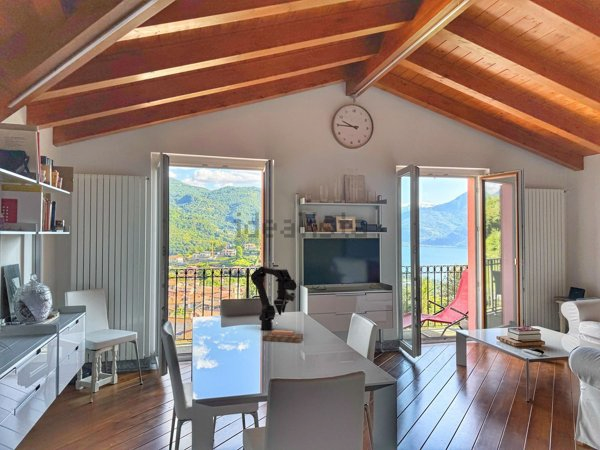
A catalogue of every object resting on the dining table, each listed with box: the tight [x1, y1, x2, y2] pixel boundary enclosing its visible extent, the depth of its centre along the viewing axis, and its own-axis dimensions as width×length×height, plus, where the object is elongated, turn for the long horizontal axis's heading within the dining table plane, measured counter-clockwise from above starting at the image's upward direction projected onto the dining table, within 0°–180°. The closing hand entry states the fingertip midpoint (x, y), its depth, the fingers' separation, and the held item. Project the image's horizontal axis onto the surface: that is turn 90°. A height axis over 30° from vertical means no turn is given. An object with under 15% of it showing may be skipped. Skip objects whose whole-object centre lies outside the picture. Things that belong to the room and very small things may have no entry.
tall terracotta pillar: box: [272, 329, 295, 336], centre depth 239 cm, size 12×3×5 cm, turn 79°
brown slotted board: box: [262, 331, 304, 344], centre depth 239 cm, size 22×10×3 cm, turn 79°
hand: (281, 313), depth 257 cm, fingers open, 9 cm apart
